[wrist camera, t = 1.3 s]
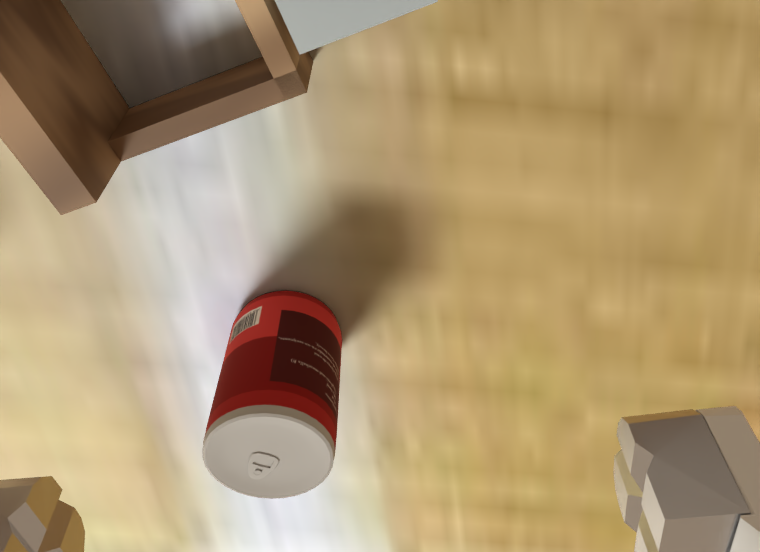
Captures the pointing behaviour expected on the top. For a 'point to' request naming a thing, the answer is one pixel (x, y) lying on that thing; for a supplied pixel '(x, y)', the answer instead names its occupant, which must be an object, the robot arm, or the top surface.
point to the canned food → (276, 398)
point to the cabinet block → (338, 18)
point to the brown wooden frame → (118, 98)
